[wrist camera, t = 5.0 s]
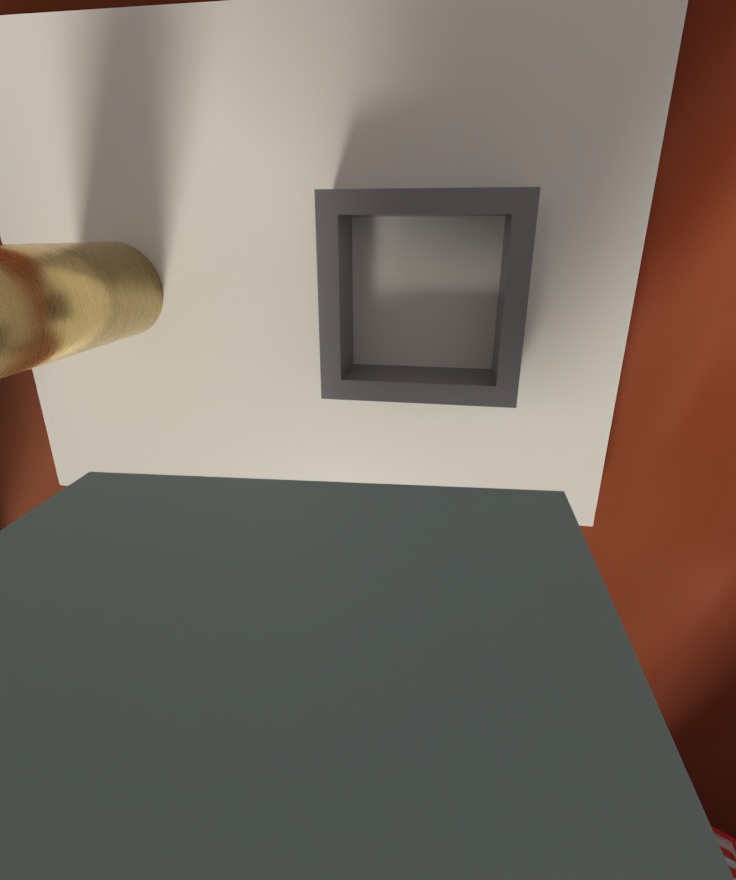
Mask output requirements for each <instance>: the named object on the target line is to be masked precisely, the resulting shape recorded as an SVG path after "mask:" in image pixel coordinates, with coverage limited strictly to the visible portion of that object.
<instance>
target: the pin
mask: <svg viewBox="0 0 736 880" xmlns="http://www.w3.org/2000/svg"><path fill="white" fill-rule="evenodd" d="M162 306H163V289H162V284H161V281H160V278H159V275H158V273H157V271H156V269H155V268H154V266H153V265H152V263H151V262H150V261H149V259H148V258H147V257H146V256H145V255H144V254H143V253H141V252H140V251H139V250H137V249H136V248H134V247H132V246H130V245H128V244H125V243H122V242H117V241H100V242H67V243H34V244H2V245H0V379H1V378H4V377H7V376H10V375H14V374H17V373H20V372H23V371H26V370H29V369H32V368H35V367H38V366H41V365H44V364H47V363H51V362H54V361H57V360H60V359H63V358H66V357H69V356H72V355H75V354H78V353H81V352H84V351H87V350H91V349H94V348H97V347H100V346H103V345H106V344H109V343H112V342H115V341H118V340H121V339H124V338H128V337H131V336H134V335H137V334H140V333H143V332H145V331H146V330H148V329H149V328H151V327H152V326H153V325H154V324H155V322H156V321H157V319H158V318H159V315H160V313H161V310H162Z"/></svg>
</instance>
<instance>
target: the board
mask: <svg viewBox="0 0 736 880" xmlns="http://www.w3.org/2000/svg"><path fill="white" fill-rule="evenodd" d="M687 5H688V0H226V1H210V2H195V3H180V4H164V5H149V6H134V7H119V8H103V9H88V10H73V11H58V12H42V13H27V14H12V15H0V237H1V241H2V244H34V243H67V242H100V241H117V242H122V243H125V244H128V245H130V246H132V247H134V248H136V249H137V250H139V251H140V252H141V253H143V254H144V255H145V256H146V257H147V258H148V259H149V261H150V262H151V263H152V265H153V266H154V268H155V269H156V271H157V273H158V275H159V278H160V281H161V284H162V289H163V306H162V310H161V313H160V315H159V318H158V319H157V321H156V322H155V324H154V325H153V326H152V327H151V328H149V329H148V330H146V331H145V332H143V333H140V334H137V335H134V336H131V337H128V338H124V339H121V340H118V341H115V342H112V343H109V344H106V345H103V346H100V347H97V348H94V349H91V350H87V351H84V352H81V353H78V354H75V355H72V356H69V357H66V358H63V359H60V360H57V361H54V362H51V363H47V364H44V365H41V366H38V367H35V368H32V371H33V375H34V379H35V383H36V387H37V392H38V396H39V400H40V404H41V408H42V412H43V417H44V421H45V425H46V429H47V433H48V438H49V442H50V446H51V450H52V454H53V458H54V463H55V467H56V471H57V475H58V479H59V484H60V485H66V486H69V485H70V484H72V483H73V482H75V481H76V480H78V479H79V478H81V477H82V476H84V475H85V474H87V473H88V472H110V473H134V474H158V475H183V476H207V477H231V478H256V479H280V480H304V481H329V482H353V483H377V484H402V485H426V486H450V487H475V488H499V489H523V490H548V491H564V492H565V494H566V497H567V499H568V501H569V504H570V506H571V508H572V510H573V513H574V515H575V517H576V520H577V522H578V524H579V525H581V526H593V522H594V516H595V511H596V505H597V500H598V494H599V489H600V483H601V478H602V472H603V467H604V461H605V456H606V450H607V445H608V439H609V434H610V428H611V423H612V417H613V412H614V406H615V401H616V395H617V390H618V384H619V379H620V373H621V368H622V362H623V357H624V351H625V346H626V340H627V335H628V329H629V324H630V318H631V313H632V307H633V302H634V296H635V291H636V285H637V280H638V274H639V269H640V263H641V258H642V252H643V247H644V241H645V236H646V230H647V225H648V219H649V214H650V208H651V203H652V197H653V192H654V186H655V181H656V175H657V170H658V164H659V159H660V153H661V148H662V142H663V137H664V131H665V126H666V120H667V115H668V109H669V104H670V98H671V93H672V87H673V82H674V76H675V71H676V65H677V60H678V54H679V49H680V43H681V38H682V32H683V27H684V21H685V16H686V10H687Z"/></svg>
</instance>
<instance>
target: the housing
mask: <svg viewBox="0 0 736 880" xmlns="http://www.w3.org/2000/svg"><path fill="white" fill-rule="evenodd" d="M0 880H734V878H733V876H732V873H731V871H730V869H729V866H728V864H727V862H726V860H725V857H724V855H723V853H722V850H721V848H720V846H719V844H718V841H717V839H716V837H715V834H714V832H713V830H712V828H711V825H710V823H709V821H708V818H707V816H706V814H705V812H704V809H703V807H702V805H701V802H700V800H699V798H698V796H697V793H696V791H695V789H694V787H693V784H692V782H691V780H690V777H689V775H688V773H687V771H686V768H685V766H684V764H683V761H682V759H681V757H680V755H679V752H678V750H677V748H676V745H675V743H674V741H673V739H672V736H671V734H670V732H669V729H668V727H667V725H666V723H665V720H664V718H663V716H662V713H661V711H660V709H659V707H658V704H657V702H656V700H655V698H654V695H653V693H652V691H651V688H650V686H649V684H648V682H647V679H646V677H645V675H644V672H643V670H642V668H641V666H640V663H639V661H638V659H637V656H636V654H635V652H634V650H633V647H632V645H631V643H630V640H629V638H628V636H627V634H626V631H625V629H624V627H623V625H622V622H621V620H620V618H619V615H618V613H617V611H616V609H615V606H614V604H613V602H612V599H611V597H610V595H609V593H608V590H607V588H606V586H605V583H604V581H603V579H602V577H601V574H600V572H599V570H598V567H597V565H596V563H595V561H594V558H593V556H592V554H591V551H590V549H589V547H588V545H587V542H586V540H585V538H584V536H583V533H582V531H581V529H580V526H579V524H578V522H577V520H576V517H575V515H574V513H573V510H572V508H571V506H570V504H569V501H568V499H567V497H566V494H565V492H564V491H548V490H523V489H499V488H475V487H450V486H426V485H402V484H377V483H353V482H329V481H304V480H280V479H256V478H231V477H207V476H183V475H158V474H134V473H110V472H88V473H87V474H85V475H84V476H82V477H81V478H79V479H78V480H76V481H75V482H73V483H72V484H70V485H69V486H67V487H66V488H64V489H63V490H61V491H60V492H58V493H57V494H55V495H54V496H52V497H51V498H49V499H48V500H46V501H45V502H43V503H42V504H40V505H38V506H37V507H35V508H34V509H32V510H31V511H29V512H28V513H26V514H25V515H23V516H22V517H20V518H19V519H17V520H16V521H14V522H13V523H11V524H10V525H8V526H7V527H5V528H4V529H2V530H1V531H0Z"/></svg>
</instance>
